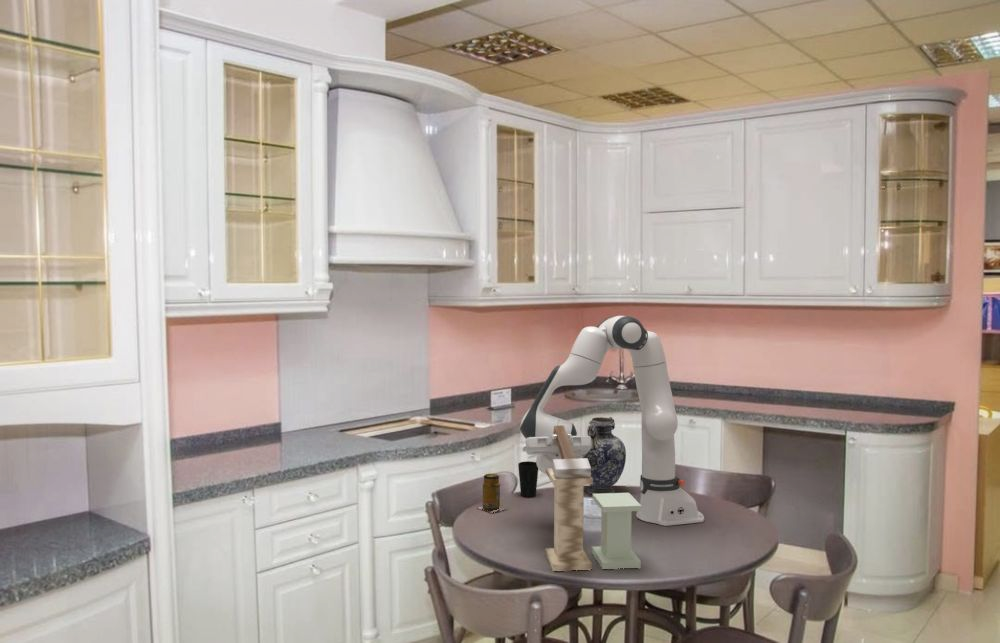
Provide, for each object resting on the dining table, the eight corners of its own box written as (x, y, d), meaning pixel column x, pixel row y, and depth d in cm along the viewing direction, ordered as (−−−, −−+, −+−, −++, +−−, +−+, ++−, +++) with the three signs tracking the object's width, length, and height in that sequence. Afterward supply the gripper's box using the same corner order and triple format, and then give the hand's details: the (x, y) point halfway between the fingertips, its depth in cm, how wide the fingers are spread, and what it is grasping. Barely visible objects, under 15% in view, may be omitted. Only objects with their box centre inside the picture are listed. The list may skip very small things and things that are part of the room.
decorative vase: (589, 481, 312) (590, 411, 310) (633, 488, 303) (635, 417, 300) (565, 495, 294) (567, 421, 291) (612, 503, 284) (614, 427, 282)
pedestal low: (628, 551, 235) (628, 492, 233) (640, 568, 222) (641, 505, 220) (591, 553, 233) (592, 493, 232) (602, 569, 220) (603, 506, 219)
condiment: (492, 504, 282) (493, 471, 281) (508, 510, 275) (508, 476, 274) (476, 508, 277) (476, 474, 276) (491, 514, 271) (491, 479, 270)
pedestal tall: (581, 553, 233) (582, 467, 231) (591, 570, 220) (592, 479, 218) (545, 555, 232) (546, 468, 230) (553, 571, 219) (553, 480, 217)
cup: (527, 491, 298) (528, 460, 297) (542, 495, 293) (543, 463, 292) (513, 495, 293) (513, 463, 292) (528, 499, 287) (528, 467, 287)
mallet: (574, 433, 241) (575, 425, 240) (590, 477, 220) (591, 468, 219) (542, 434, 240) (542, 426, 238) (555, 478, 219) (555, 469, 218)
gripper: (521, 441, 247) (526, 427, 234) (585, 439, 249) (593, 425, 237) (522, 461, 244) (528, 448, 232) (587, 459, 246) (596, 446, 234)
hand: (562, 436), depth 234 cm, fingers closed on mallet, 3 cm apart
